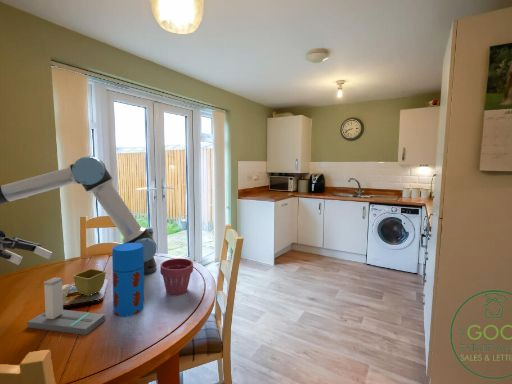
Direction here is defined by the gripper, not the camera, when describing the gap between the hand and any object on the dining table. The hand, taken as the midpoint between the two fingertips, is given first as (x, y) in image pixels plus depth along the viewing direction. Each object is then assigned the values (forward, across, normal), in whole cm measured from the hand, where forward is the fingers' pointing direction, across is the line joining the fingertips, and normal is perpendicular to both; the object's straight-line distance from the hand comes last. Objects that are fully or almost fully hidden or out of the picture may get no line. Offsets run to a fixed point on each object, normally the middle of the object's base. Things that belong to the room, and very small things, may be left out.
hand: (36, 258), depth 100 cm
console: (+23, +3, -14) cm, 27 cm away
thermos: (+38, -7, -6) cm, 39 cm away
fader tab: (+17, +3, -14) cm, 22 cm away
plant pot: (+49, -23, +2) cm, 55 cm away
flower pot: (+16, -18, -12) cm, 27 cm away
